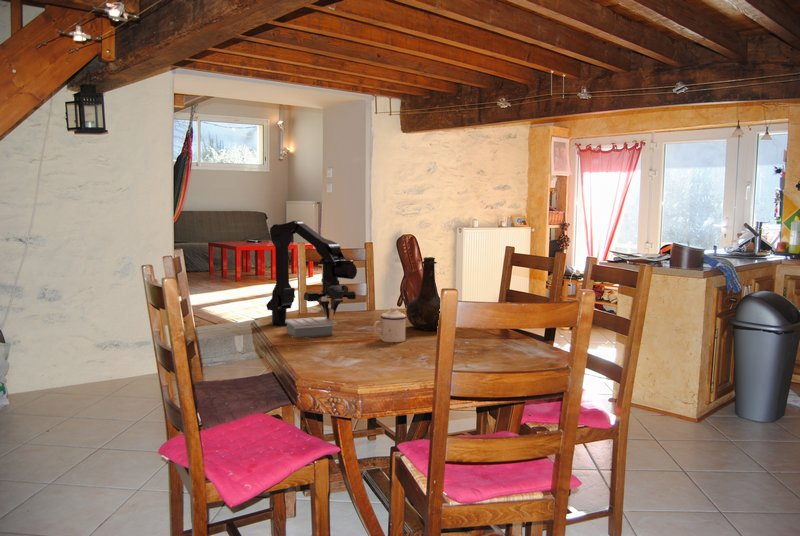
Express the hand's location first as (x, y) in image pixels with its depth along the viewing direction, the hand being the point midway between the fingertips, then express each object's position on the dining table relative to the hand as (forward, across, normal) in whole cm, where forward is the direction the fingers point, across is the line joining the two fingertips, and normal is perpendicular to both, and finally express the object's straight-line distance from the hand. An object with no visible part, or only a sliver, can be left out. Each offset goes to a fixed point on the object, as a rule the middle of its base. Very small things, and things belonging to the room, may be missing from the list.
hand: (329, 318), depth 238 cm
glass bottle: (+6, +39, -6) cm, 40 cm away
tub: (+5, -8, 0) cm, 10 cm away
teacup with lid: (+6, +15, -20) cm, 26 cm away
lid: (+2, -7, 0) cm, 8 cm away
